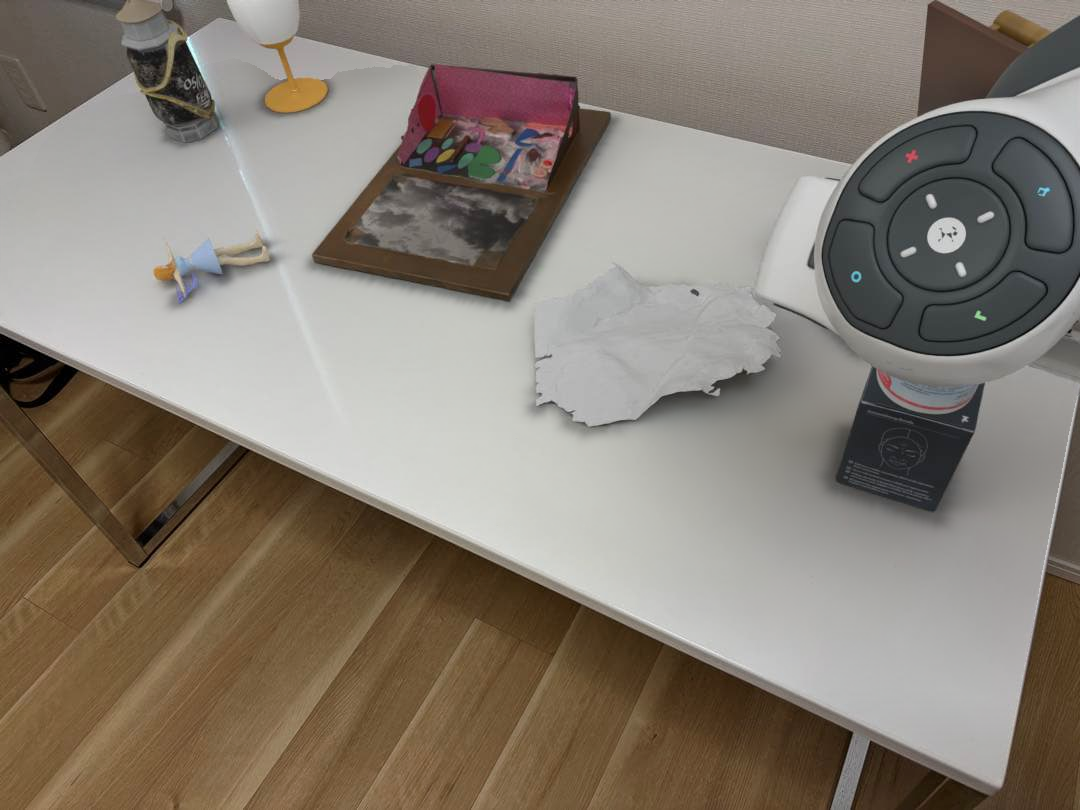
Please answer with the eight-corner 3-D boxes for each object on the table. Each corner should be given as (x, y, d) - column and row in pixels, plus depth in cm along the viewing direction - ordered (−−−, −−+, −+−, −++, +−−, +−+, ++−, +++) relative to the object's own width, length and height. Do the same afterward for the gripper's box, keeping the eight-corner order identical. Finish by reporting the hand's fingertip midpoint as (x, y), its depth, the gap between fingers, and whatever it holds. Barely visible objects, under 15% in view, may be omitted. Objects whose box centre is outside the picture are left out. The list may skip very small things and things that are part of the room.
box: (946, 461, 67) (989, 376, 59) (933, 515, 64) (976, 434, 56) (849, 432, 70) (877, 347, 62) (832, 482, 67) (859, 400, 59)
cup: (337, 80, 117) (302, -37, 105) (312, 114, 112) (272, -5, 99) (281, 78, 119) (240, -37, 107) (254, 111, 114) (207, -6, 101)
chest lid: (1050, 68, 59) (1108, 34, 59) (927, 3, 67) (978, -27, 67) (1013, 220, 71) (1061, 192, 71) (913, 151, 79) (957, 125, 79)
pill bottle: (884, 340, 56) (929, 207, 48) (979, 363, 54) (1044, 229, 46) (865, 402, 53) (909, 272, 44) (965, 430, 51) (1032, 299, 42)
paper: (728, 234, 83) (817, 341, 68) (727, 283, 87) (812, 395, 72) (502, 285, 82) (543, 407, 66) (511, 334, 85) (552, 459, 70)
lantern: (236, 120, 113) (153, -76, 93) (193, 151, 108) (97, -47, 89) (193, 108, 116) (104, -84, 97) (150, 137, 112) (49, -57, 93)
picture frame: (614, 120, 104) (613, 58, 97) (509, 303, 84) (498, 241, 78) (445, 99, 111) (433, 40, 105) (311, 262, 91) (287, 203, 85)
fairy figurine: (272, 255, 87) (156, 288, 83) (282, 290, 91) (172, 323, 87) (245, 201, 94) (137, 229, 90) (255, 235, 97) (152, 264, 94)
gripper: (1256, 297, 32) (1173, 320, 44) (769, 164, 41) (812, 214, 53) (1180, 443, 33) (1120, 425, 46) (722, 285, 42) (775, 306, 54)
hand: (952, 311), depth 49 cm, fingers closed on pill bottle, 6 cm apart
